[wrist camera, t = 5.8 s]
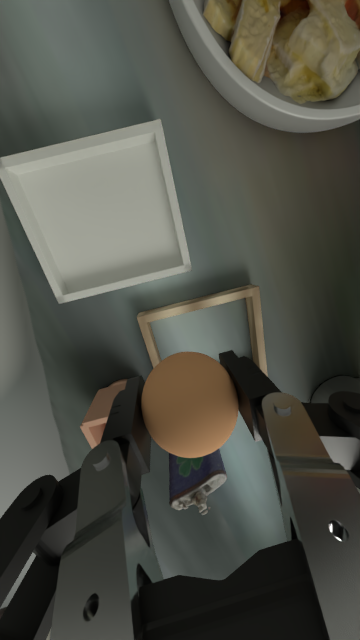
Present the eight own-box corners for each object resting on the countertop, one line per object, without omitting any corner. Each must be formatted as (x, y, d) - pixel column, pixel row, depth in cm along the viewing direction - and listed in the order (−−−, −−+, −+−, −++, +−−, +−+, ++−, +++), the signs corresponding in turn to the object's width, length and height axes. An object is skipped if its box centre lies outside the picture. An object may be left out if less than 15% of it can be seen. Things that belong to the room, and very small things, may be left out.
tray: (160, 137, 20) (160, 119, 17) (189, 269, 24) (192, 270, 22) (14, 172, 20) (-9, 159, 17) (69, 299, 24) (59, 303, 21)
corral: (251, 284, 26) (258, 286, 24) (260, 368, 30) (267, 376, 28) (138, 312, 25) (136, 317, 23) (164, 393, 30) (165, 403, 28)
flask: (206, 415, 32) (226, 487, 22) (215, 425, 33) (238, 498, 23) (165, 443, 33) (166, 523, 23) (175, 451, 34) (180, 532, 24)
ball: (212, 327, 10) (251, 377, 6) (225, 391, 12) (263, 466, 8) (134, 349, 10) (117, 415, 6) (157, 410, 12) (156, 498, 7)
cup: (141, 374, 28) (135, 408, 22) (154, 408, 31) (151, 449, 24) (97, 385, 28) (77, 423, 22) (113, 419, 31) (99, 463, 24)
